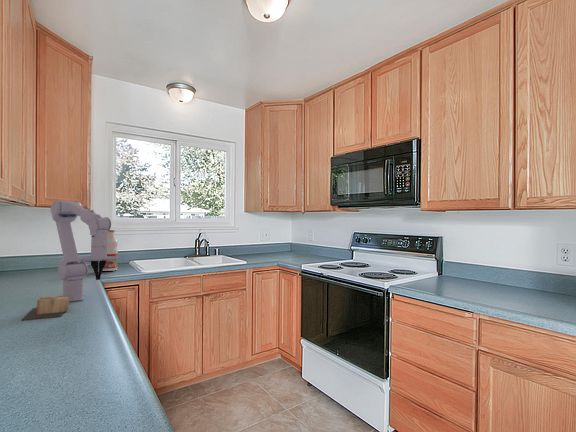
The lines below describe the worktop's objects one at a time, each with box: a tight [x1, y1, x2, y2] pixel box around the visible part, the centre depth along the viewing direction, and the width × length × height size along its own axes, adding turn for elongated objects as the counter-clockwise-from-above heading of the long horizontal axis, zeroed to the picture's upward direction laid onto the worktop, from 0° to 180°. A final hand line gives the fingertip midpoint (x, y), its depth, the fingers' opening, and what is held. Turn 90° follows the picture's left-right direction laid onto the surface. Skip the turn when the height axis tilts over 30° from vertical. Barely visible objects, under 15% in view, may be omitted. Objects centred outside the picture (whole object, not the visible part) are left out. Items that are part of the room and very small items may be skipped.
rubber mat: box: [21, 307, 64, 322], centre depth 117 cm, size 16×11×1 cm
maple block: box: [36, 295, 70, 314], centre depth 118 cm, size 5×5×9 cm
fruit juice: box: [102, 229, 119, 271], centre depth 213 cm, size 9×9×28 cm
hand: (98, 279), depth 129 cm, fingers closed
